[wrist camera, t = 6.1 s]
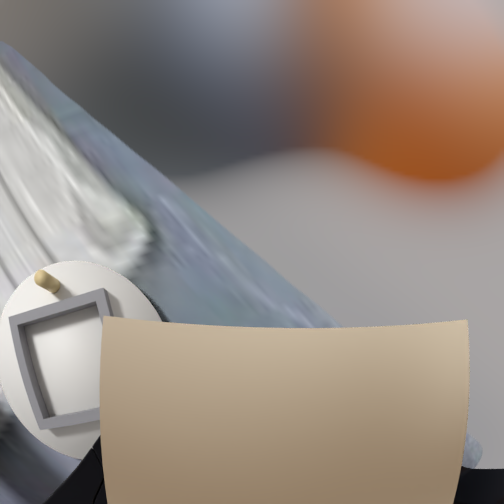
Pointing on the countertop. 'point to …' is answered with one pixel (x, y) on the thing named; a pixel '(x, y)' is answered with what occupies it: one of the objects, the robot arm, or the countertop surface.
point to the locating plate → (62, 349)
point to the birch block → (282, 413)
